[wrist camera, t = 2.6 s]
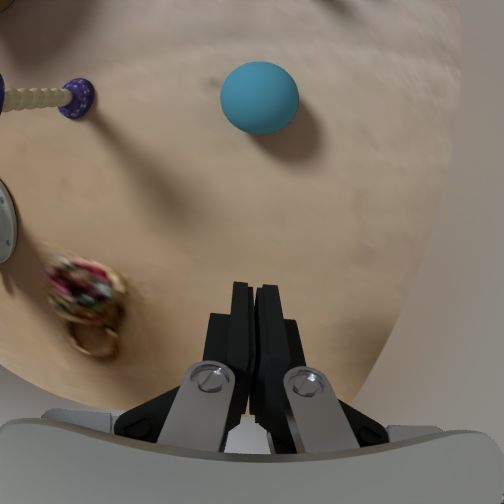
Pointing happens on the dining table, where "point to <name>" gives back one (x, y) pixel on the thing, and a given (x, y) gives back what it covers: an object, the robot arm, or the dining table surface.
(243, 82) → the ball
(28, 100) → the toy lamp
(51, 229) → the dining table surface
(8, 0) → the plant pot
